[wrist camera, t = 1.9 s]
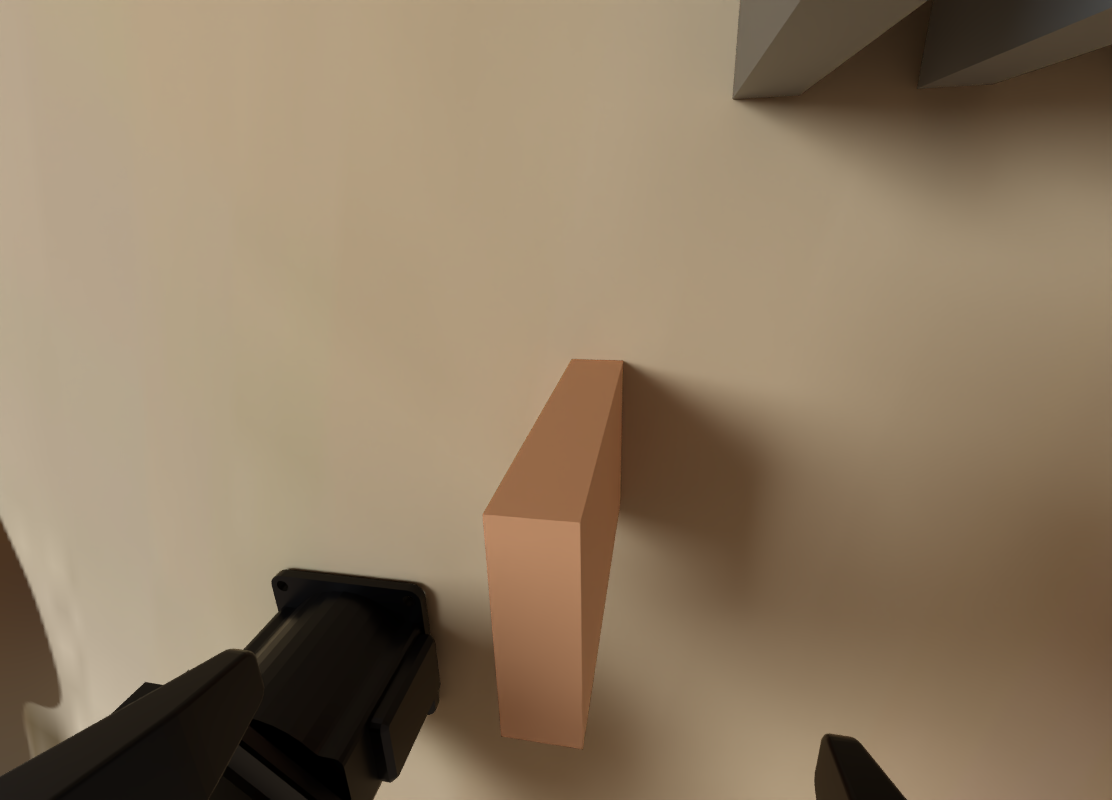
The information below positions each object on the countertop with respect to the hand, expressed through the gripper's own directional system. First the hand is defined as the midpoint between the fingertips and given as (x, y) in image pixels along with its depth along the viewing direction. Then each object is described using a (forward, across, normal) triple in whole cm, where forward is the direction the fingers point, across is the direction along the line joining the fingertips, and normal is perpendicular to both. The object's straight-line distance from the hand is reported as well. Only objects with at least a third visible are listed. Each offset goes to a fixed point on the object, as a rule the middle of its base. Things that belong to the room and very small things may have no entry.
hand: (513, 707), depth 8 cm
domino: (+10, 0, 0) cm, 10 cm away
